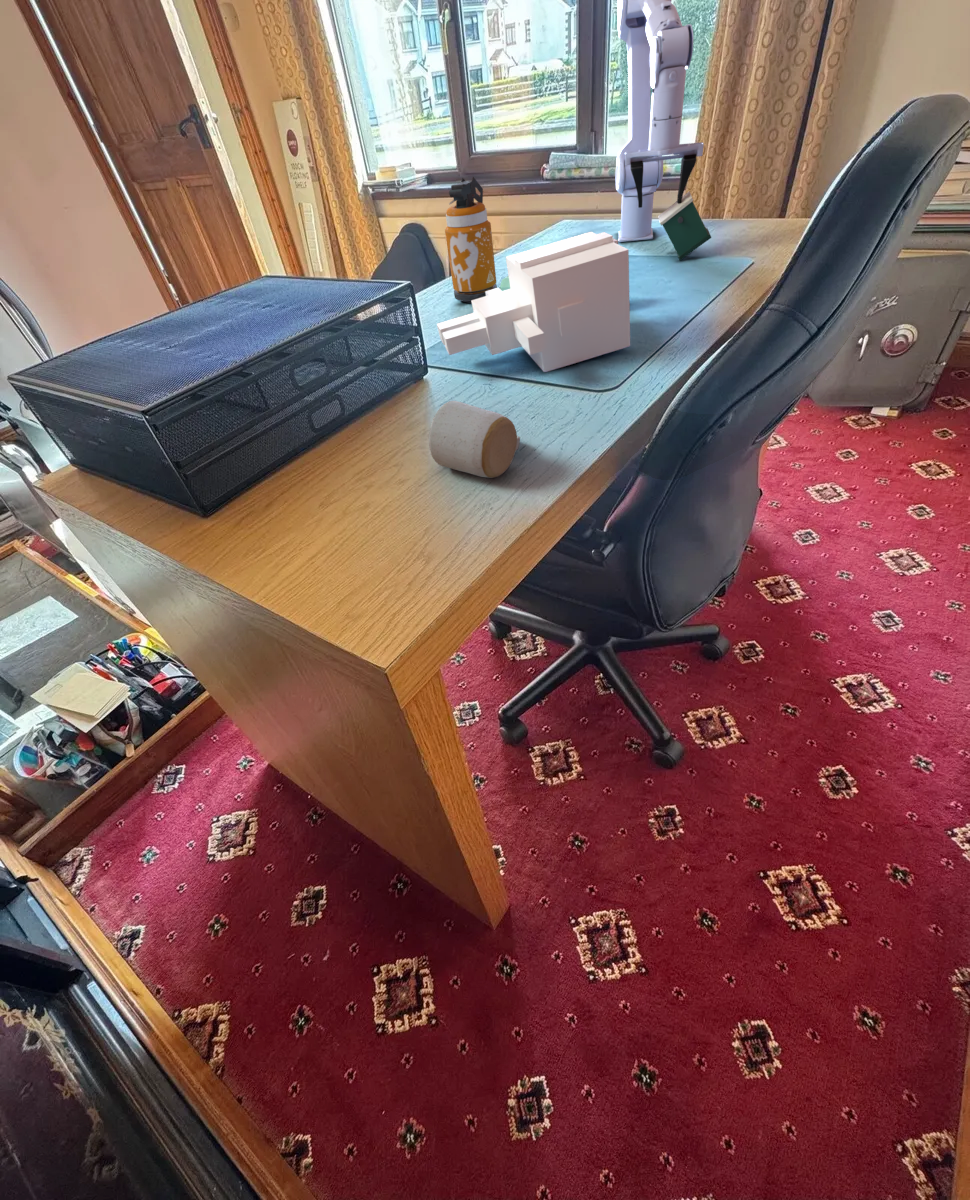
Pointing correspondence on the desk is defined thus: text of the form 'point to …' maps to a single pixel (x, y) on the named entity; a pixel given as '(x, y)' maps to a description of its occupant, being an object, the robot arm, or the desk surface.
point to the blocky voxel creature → (553, 304)
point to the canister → (469, 243)
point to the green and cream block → (684, 226)
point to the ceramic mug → (472, 439)
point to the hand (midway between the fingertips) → (659, 204)
